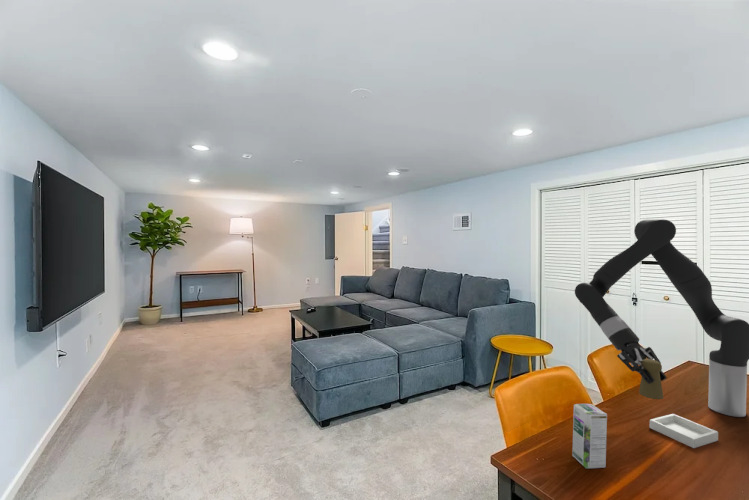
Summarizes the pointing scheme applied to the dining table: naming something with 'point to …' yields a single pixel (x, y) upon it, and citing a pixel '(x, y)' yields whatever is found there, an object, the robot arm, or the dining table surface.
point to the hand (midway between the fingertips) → (657, 380)
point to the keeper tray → (684, 430)
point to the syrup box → (589, 436)
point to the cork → (655, 387)
